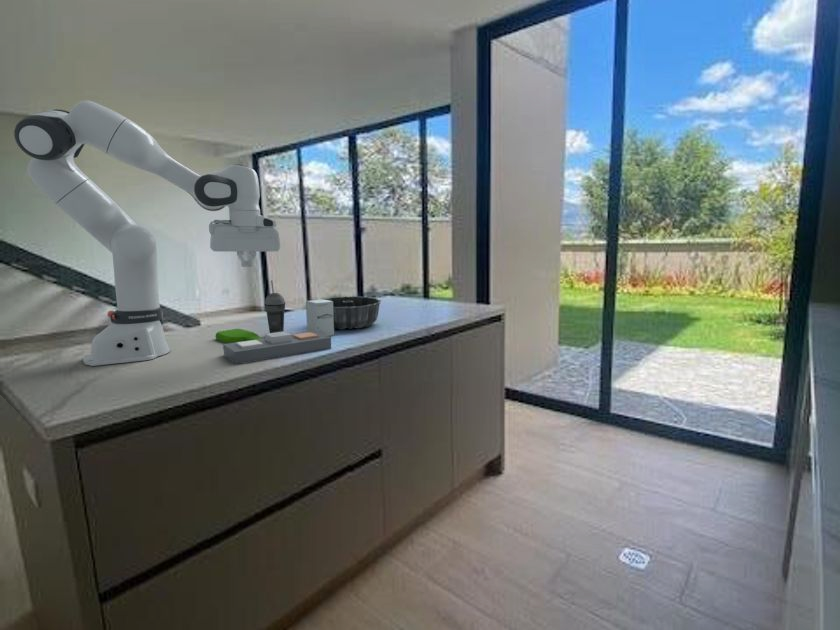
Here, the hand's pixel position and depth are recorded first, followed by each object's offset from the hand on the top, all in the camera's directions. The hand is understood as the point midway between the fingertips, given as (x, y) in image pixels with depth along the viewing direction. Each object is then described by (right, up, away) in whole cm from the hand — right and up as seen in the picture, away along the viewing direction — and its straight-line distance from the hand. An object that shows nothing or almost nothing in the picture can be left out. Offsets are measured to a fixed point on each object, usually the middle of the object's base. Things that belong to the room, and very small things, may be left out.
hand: (247, 266), depth 145 cm
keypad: (+9, -26, +3) cm, 28 cm away
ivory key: (+2, -26, -3) cm, 27 cm away
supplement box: (+17, -23, +26) cm, 39 cm away
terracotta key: (+16, -24, +8) cm, 30 cm away
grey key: (+9, -24, +2) cm, 26 cm away
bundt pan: (+25, -19, +45) cm, 54 cm away
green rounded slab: (-7, -25, +16) cm, 30 cm away
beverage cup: (+1, -23, +26) cm, 34 cm away
